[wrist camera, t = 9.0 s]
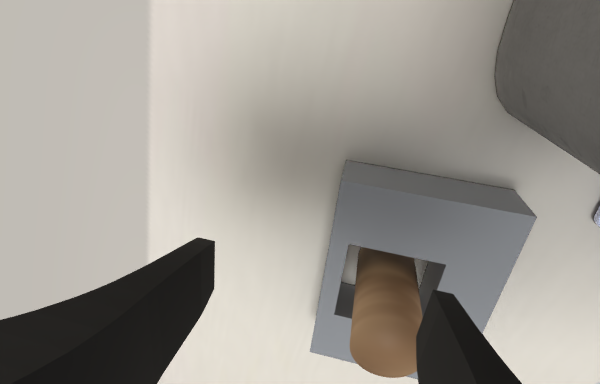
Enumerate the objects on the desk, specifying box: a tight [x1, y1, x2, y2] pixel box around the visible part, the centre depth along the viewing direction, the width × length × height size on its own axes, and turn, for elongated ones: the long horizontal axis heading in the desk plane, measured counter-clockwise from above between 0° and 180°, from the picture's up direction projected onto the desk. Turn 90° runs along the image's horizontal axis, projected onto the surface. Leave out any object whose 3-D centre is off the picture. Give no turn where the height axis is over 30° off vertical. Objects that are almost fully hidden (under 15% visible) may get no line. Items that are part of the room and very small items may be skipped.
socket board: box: [310, 160, 537, 379], centre depth 21 cm, size 9×12×3 cm
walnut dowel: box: [350, 247, 423, 378], centre depth 19 cm, size 3×3×7 cm
